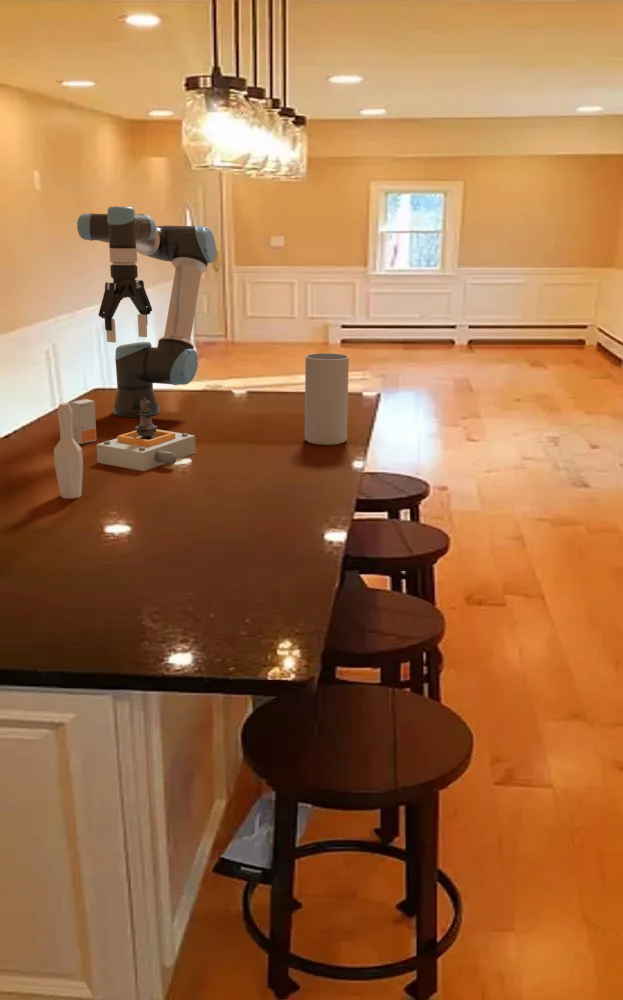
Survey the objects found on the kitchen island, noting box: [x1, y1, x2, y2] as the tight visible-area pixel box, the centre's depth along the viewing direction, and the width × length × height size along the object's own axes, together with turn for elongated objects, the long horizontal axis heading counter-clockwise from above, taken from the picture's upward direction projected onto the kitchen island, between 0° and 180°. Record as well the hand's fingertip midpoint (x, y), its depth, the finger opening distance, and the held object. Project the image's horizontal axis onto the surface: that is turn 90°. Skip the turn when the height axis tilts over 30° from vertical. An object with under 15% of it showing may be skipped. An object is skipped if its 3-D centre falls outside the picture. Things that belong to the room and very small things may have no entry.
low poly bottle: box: [53, 402, 84, 499], centre depth 203 cm, size 6×6×22 cm
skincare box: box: [68, 398, 97, 445], centre depth 254 cm, size 6×4×12 cm
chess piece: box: [134, 396, 158, 440], centre depth 236 cm, size 6×6×12 cm
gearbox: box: [95, 428, 197, 472], centre depth 238 cm, size 22×21×6 cm
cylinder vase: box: [304, 352, 350, 446], centre depth 257 cm, size 12×12×25 cm
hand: (127, 339), depth 254 cm, fingers open, 13 cm apart
